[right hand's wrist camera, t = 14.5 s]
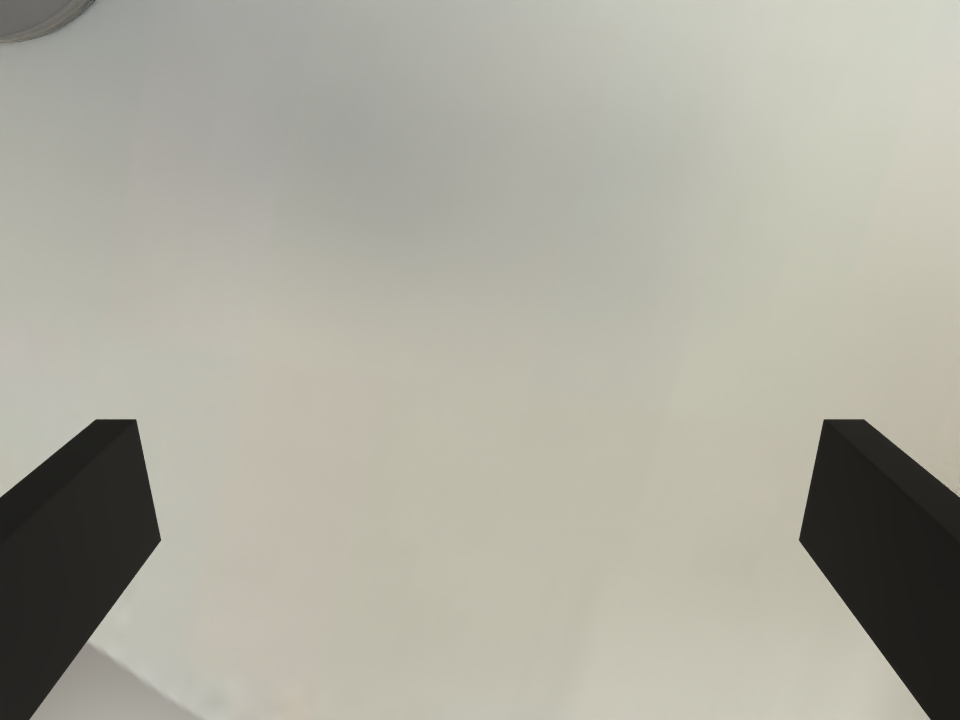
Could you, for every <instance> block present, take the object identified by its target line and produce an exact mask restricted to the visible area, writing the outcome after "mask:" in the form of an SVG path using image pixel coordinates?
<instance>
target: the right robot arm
mask: <svg viewBox="0 0 960 720" xmlns="http://www.w3.org/2000/svg"><path fill="white" fill-rule="evenodd" d="M94 1H95V0H0V43H6V42H18V41H23V40H29V39H33V38H36V37H40V36H43V35H46V34H48V33H50V32H53V31H55V30H57V29H59V28H61V27H63V26H64V25H66V24H68V23H69V22H71V21H72V20H74V19H75V18H76V17H78V16H79V15H80V14H81V13H83V12H84V11H85V10H86V9H87V8H88V7H89V6H90V5H91V4H92V3H93V2H94ZM160 541H161V538H160V533H159V528H158V523H157V518H156V513H155V508H154V504H153V499H152V494H151V489H150V484H149V479H148V475H147V470H146V465H145V460H144V455H143V450H142V445H141V441H140V436H139V431H138V426H137V421H136V419H96V420H95V421H94V422H92V423H91V424H90V425H89V426H87V427H86V428H85V429H84V430H83V431H81V432H80V433H79V434H78V435H76V436H75V437H74V438H73V439H71V440H70V441H69V442H68V443H67V444H65V445H64V446H63V447H62V448H60V449H59V450H58V451H57V452H56V453H54V454H53V455H52V456H51V457H49V458H48V459H47V460H46V461H45V462H43V463H42V464H41V465H40V466H38V467H37V468H36V469H35V470H34V471H32V472H31V473H30V474H29V475H27V476H26V477H25V478H24V479H22V480H21V481H20V482H19V483H18V484H16V485H15V486H14V487H13V488H11V489H10V490H9V491H8V492H7V493H5V494H4V495H3V496H2V497H0V720H29V719H30V718H31V717H32V715H33V714H34V713H35V711H36V710H37V708H38V707H39V706H40V704H41V703H42V702H43V700H44V699H45V698H46V696H47V695H48V694H49V692H50V691H51V689H52V688H53V687H54V685H55V684H56V683H57V681H58V680H59V679H60V677H61V676H62V674H63V673H64V672H65V670H66V669H67V668H68V666H69V665H70V664H71V662H72V661H73V660H74V658H75V657H76V655H77V654H78V653H79V651H80V650H81V649H82V647H83V646H84V645H85V643H86V642H87V640H88V639H89V638H90V636H91V635H92V634H93V632H94V631H95V630H96V628H97V627H98V625H99V624H100V623H101V621H102V620H103V619H104V617H105V616H106V615H107V613H108V612H109V610H110V609H111V608H112V606H113V605H114V604H115V602H116V601H117V600H118V598H119V597H120V596H121V594H122V593H123V591H124V590H125V589H126V587H127V586H128V585H129V583H130V582H131V581H132V579H133V578H134V576H135V575H136V574H137V572H138V571H139V570H140V568H141V567H142V566H143V564H144V563H145V561H146V560H147V559H148V557H149V556H150V555H151V553H152V552H153V551H154V549H155V548H156V546H157V545H158V544H159V542H160ZM799 541H800V542H801V544H802V545H803V546H804V548H805V549H806V551H807V552H808V553H809V555H810V556H811V557H812V559H813V560H814V561H815V563H816V564H817V566H818V567H819V568H820V570H821V571H822V572H823V574H824V575H825V576H826V578H827V579H828V581H829V582H830V583H831V585H832V586H833V587H834V589H835V590H836V591H837V593H838V594H839V596H840V597H841V598H842V600H843V601H844V602H845V604H846V605H847V606H848V608H849V609H850V610H851V612H852V613H853V615H854V616H855V617H856V619H857V620H858V621H859V623H860V624H861V625H862V627H863V628H864V630H865V631H866V632H867V634H868V635H869V636H870V638H871V639H872V640H873V642H874V643H875V645H876V646H877V647H878V649H879V650H880V651H881V653H882V654H883V655H884V657H885V658H886V660H887V661H888V662H889V664H890V665H891V666H892V668H893V669H894V670H895V672H896V673H897V674H898V676H899V677H900V679H901V680H902V681H903V683H904V684H905V685H906V687H907V688H908V689H909V691H910V692H911V694H912V695H913V696H914V698H915V699H916V700H917V702H918V703H919V704H920V706H921V707H922V709H923V710H924V711H925V713H926V714H927V715H928V717H929V718H930V719H931V720H960V497H958V496H957V495H956V494H955V493H953V492H952V491H951V490H950V489H949V488H947V487H946V486H945V485H944V484H942V483H941V482H940V481H939V480H937V479H936V478H935V477H934V476H933V475H931V474H930V473H929V472H928V471H926V470H925V469H924V468H923V467H922V466H920V465H919V464H918V463H917V462H915V461H914V460H913V459H912V458H911V457H909V456H908V455H907V454H906V453H904V452H903V451H902V450H901V449H900V448H898V447H897V446H896V445H895V444H893V443H892V442H891V441H890V440H889V439H887V438H886V437H885V436H884V435H882V434H881V433H880V432H879V431H877V430H876V429H875V428H874V427H873V426H871V425H870V424H869V423H868V422H866V421H865V420H864V419H824V421H823V426H822V431H821V436H820V441H819V445H818V450H817V455H816V460H815V465H814V470H813V474H812V479H811V484H810V489H809V494H808V499H807V504H806V508H805V513H804V518H803V523H802V528H801V533H800V538H799Z"/></svg>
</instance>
